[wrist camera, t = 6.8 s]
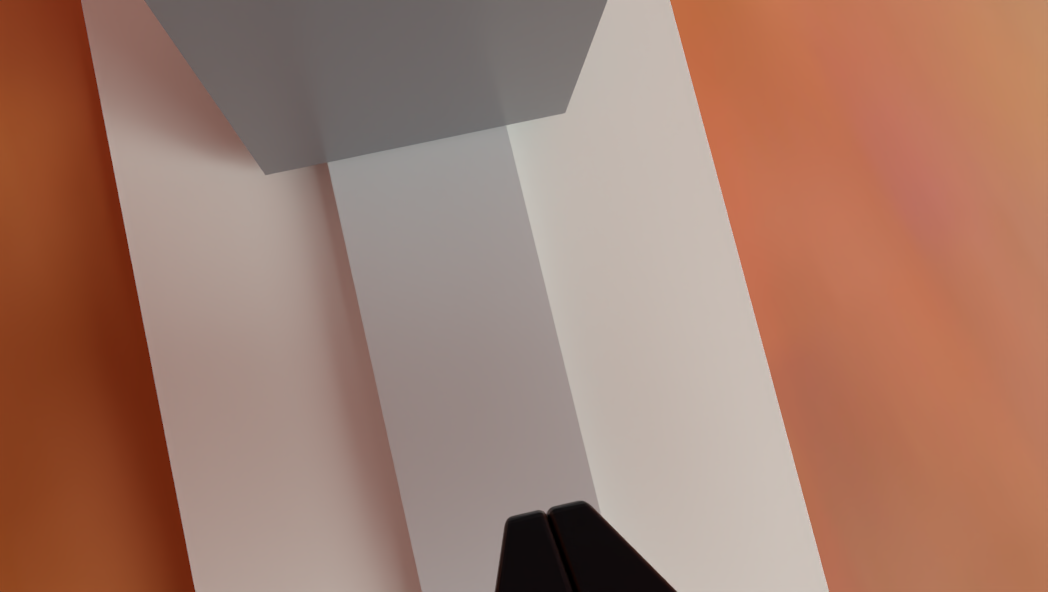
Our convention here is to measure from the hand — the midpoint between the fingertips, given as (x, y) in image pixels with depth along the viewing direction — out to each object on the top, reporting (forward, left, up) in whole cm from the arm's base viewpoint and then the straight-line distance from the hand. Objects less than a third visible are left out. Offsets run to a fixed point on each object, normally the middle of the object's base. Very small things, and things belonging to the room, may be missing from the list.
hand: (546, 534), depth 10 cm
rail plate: (+3, +1, -10) cm, 11 cm away
